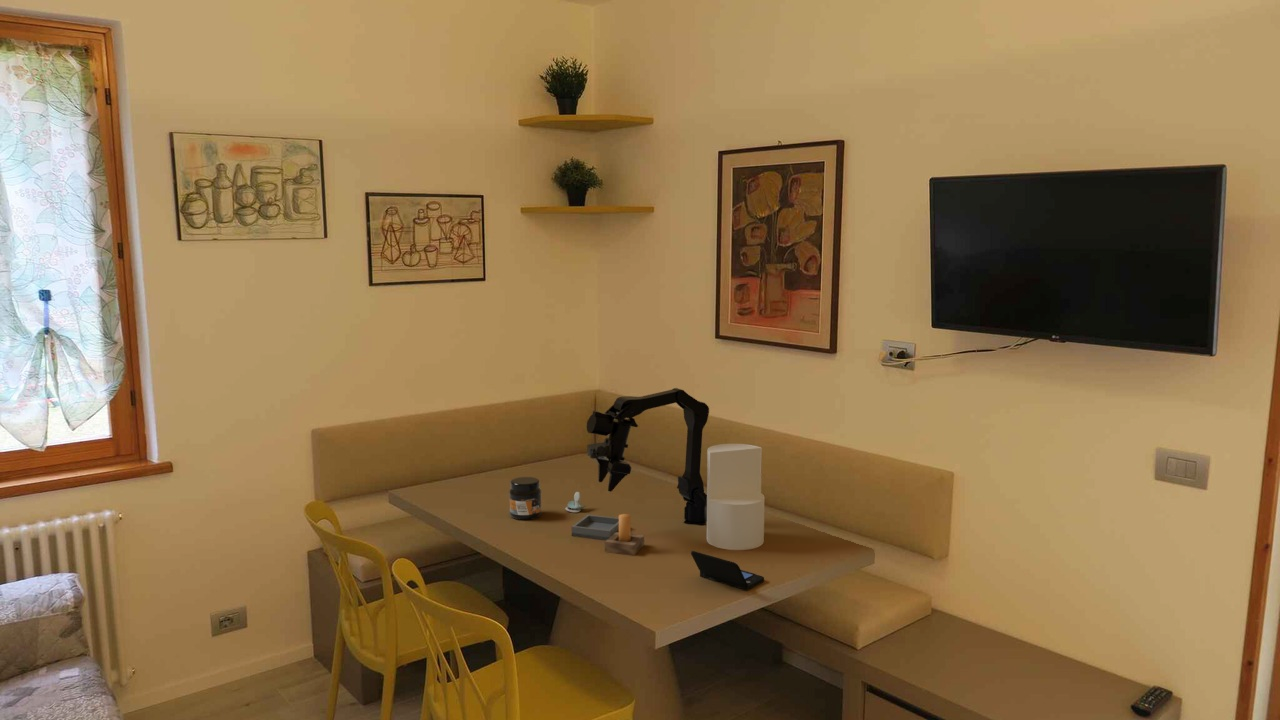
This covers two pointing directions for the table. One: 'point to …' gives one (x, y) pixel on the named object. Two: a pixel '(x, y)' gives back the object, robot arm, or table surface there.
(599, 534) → the tray
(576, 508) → the pacifier
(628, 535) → the pin
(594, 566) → the table surface
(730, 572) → the game console
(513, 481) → the supplement container
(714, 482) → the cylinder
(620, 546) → the socket block
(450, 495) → the table surface
